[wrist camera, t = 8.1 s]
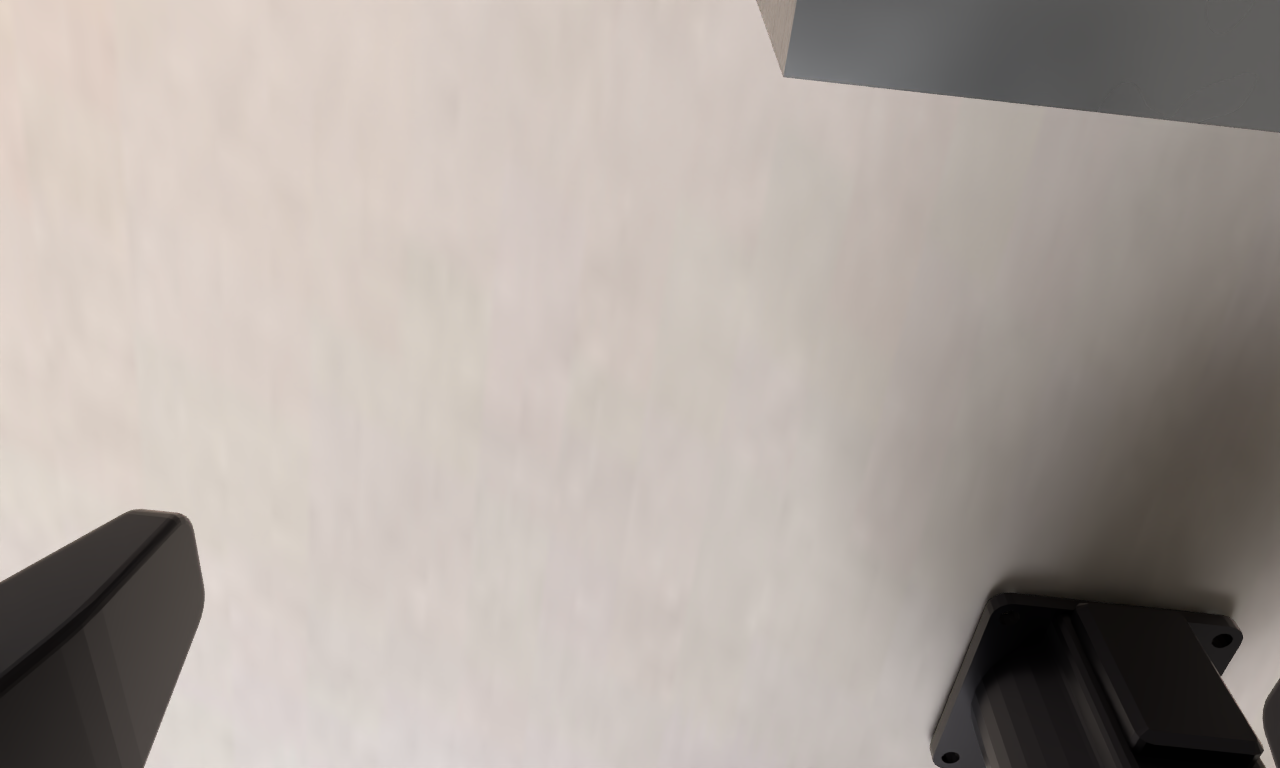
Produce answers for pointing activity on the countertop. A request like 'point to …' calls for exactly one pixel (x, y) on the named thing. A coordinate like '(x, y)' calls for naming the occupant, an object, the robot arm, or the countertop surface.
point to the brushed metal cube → (1048, 53)
